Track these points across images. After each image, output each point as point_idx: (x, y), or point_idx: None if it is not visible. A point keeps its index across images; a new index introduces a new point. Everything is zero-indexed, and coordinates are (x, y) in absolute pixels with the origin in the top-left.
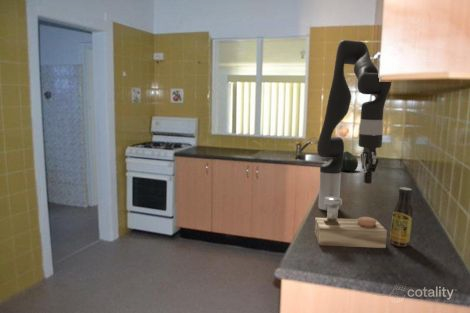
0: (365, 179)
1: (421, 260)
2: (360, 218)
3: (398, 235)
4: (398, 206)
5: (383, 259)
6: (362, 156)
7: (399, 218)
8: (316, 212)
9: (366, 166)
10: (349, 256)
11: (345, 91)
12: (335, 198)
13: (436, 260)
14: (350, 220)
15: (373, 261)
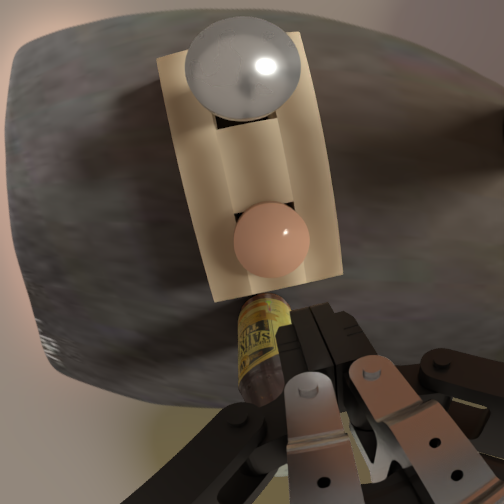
0: (296, 329)
1: (163, 346)
2: (276, 215)
3: (239, 327)
4: (257, 389)
5: (126, 262)
6: (496, 488)
7: (240, 363)
8: (486, 90)
9: (291, 447)
10: (110, 172)
11: None
12: (255, 77)
13: (178, 373)
14: (307, 172)
15: (102, 236)
